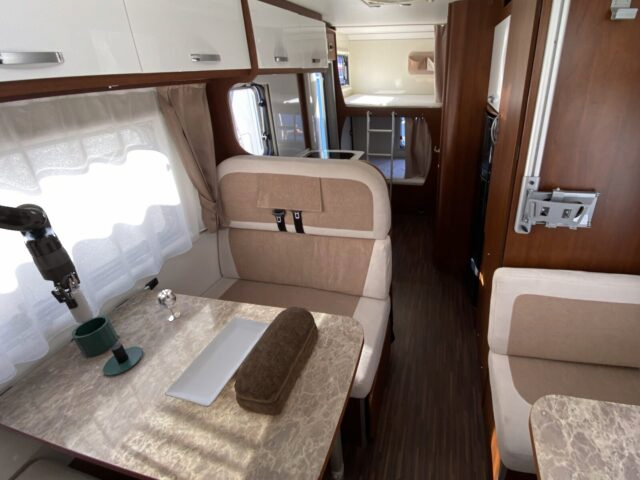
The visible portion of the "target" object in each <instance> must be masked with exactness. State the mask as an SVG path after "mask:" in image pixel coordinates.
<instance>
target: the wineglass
mask: <svg viewBox="0 0 640 480" xmlns="http://www.w3.org/2000/svg"><path fill="white" fill-rule="evenodd" d="M176 302H177V296H176V294H175V293H174V292H173V290H172V289H170V288H168V289H164V290H162V291H160V292H159V293H158V294H157V303H158V305H159V306H160V307H161V308H162V309H169V310H170V313H171V314H169V315H168V316H167V320H168V321H174V320H177V319H178V318H179V317H180V316H181V312H179V311H175V312H174V311H173V306H174V305H175V303H176Z"/></svg>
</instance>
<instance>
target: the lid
mask: <svg viewBox="0 0 640 480" xmlns="http://www.w3.org/2000/svg"><path fill="white" fill-rule="evenodd" d="M110 351H111V354H112V356H111V357H110V358H108V360H107V361H106V362H105V364H103V368H102V373H103V374H104V375H105V376H108V377H113V376H118V375H120V374H123V373H125V372H128V371H129V370H130V369H132V368H133V367H134V366H135V365H137V364H138V363H139V362H140V360H141V359H142V357H143V355H144V350H143V348H142V347H140V346H129V347H127V348H125V347H124V346H123V344H122V342H116V344H115V345H113V346H112V347H111V348H110Z"/></svg>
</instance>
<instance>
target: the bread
mask: <svg viewBox="0 0 640 480" xmlns="http://www.w3.org/2000/svg"><path fill="white" fill-rule="evenodd" d="M318 336H319V329H318V325H317V323H316V320H315V317H314V315H313V314H312V313H311V311H309V310H308V309H307V308H305V307H299V306H289V307H287V308H285V309H283V310H281V311H280V312H279V313H278V314H277V315H276V316H275V317H274V319H273V320H272V321H271V322H270V325H269V326H268V328H267V329H266V331H265V332H264V334H263V335H262V337H261V338H260V340H259V341H258V342H257V344H256V345H255V346H254V348H253V350H252V351H251V352H250V354H249V355H248V356H247V358H246V359H245V361H244V362H243V363H242V365H241V366H240V368H239V369H238V370H239V371H238V373H237V375H236V377H235V381H234V385H233V387H234V392H235V400H236V402H237V405H238V406H239V407H240V408H241V409H243V410H245V411H247V412H250V413H255V414H260V415H264V416H277V415H280V414H281V413H282V411H283V408H284V406H285V405H286V403H287V401H288V399H289V397H290V395H291V393H292V391H293V390H294V388H295V385H296V383H297V381H298V380H299V377H300V375H301V373H302V371H303V368H304V366H305V365H306V363H307V361H308V359H309V357H310V356H311V352H312V350H313V349H314V346H315V344H316V342H317V340H318V339H317V338H318ZM315 341H316V342H315Z"/></svg>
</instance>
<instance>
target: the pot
mask: <svg viewBox="0 0 640 480" xmlns="http://www.w3.org/2000/svg"><path fill="white" fill-rule="evenodd" d="M70 335H71V337H72V339H73V341H74V342H75V345H77V348H78V349H79V351H80V352H81V354H82V355H83V356H84V357H85V358H94V357H97V356H100V355H102V354H104V353H107V352H108V351H109V350H111V347H112V346H113V345H115V344H117V343H118V340H119V336H118V333H117V332H116V330H115V328H114V326H113V324H112V322H111V320H110V318H109V316H107V315H99V316H93V317H92V318H91V319H90V320H88V321H86V322H83V323H79V325H77V326H76V327H75V328H74V329H73V330H72V332H71V334H70Z"/></svg>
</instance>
